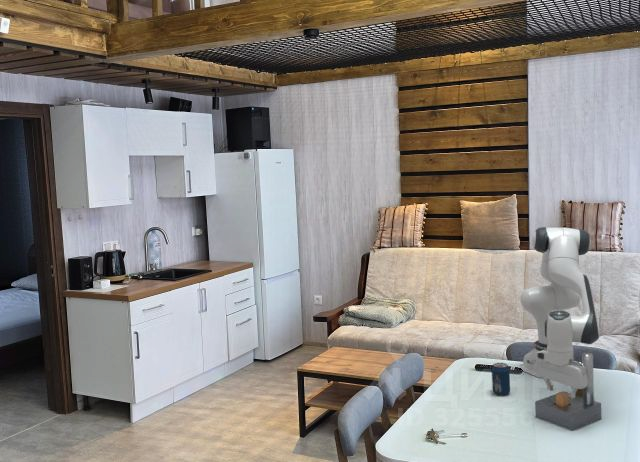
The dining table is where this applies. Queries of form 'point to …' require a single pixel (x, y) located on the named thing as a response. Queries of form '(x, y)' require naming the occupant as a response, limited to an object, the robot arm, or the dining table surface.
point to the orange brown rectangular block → (562, 399)
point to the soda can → (500, 379)
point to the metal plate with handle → (572, 404)
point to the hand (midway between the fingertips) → (561, 393)
